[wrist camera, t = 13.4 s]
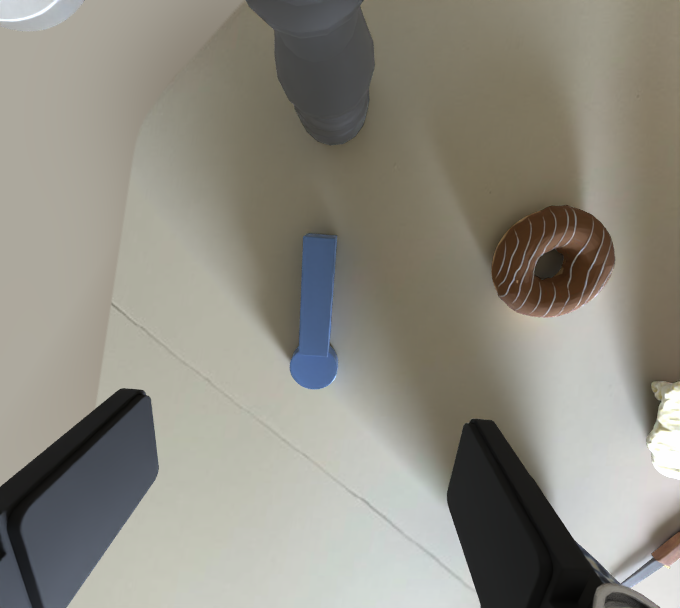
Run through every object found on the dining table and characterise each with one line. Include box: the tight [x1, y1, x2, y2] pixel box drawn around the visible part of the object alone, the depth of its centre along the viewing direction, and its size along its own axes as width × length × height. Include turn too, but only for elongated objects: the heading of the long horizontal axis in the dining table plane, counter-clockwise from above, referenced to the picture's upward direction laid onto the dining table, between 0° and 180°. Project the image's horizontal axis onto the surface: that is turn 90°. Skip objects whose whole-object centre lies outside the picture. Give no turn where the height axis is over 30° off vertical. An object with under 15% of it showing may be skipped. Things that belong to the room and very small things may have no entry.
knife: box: [621, 531, 680, 588], centre depth 43 cm, size 17×1×3 cm
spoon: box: [290, 233, 338, 389], centre depth 33 cm, size 17×5×3 cm, turn 176°
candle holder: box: [246, 0, 375, 145], centre depth 17 cm, size 6×6×25 cm
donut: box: [492, 205, 615, 318], centre depth 30 cm, size 11×11×4 cm
